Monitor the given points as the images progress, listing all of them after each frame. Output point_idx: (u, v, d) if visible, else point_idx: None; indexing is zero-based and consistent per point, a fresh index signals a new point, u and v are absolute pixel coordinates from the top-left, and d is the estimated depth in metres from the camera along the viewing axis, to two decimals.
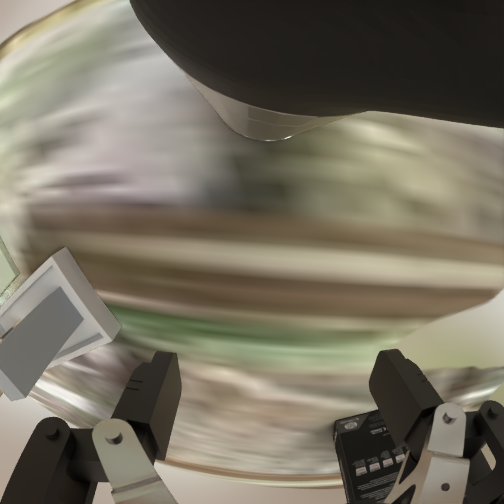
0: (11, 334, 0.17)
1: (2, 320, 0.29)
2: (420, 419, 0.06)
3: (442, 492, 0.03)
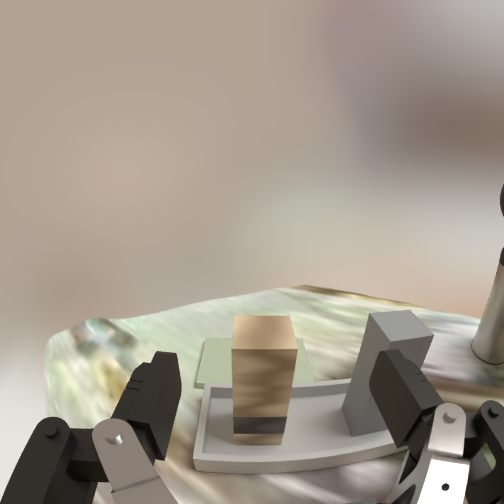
0: None
1: (224, 401, 0.30)
2: (420, 419, 0.06)
3: (442, 492, 0.03)
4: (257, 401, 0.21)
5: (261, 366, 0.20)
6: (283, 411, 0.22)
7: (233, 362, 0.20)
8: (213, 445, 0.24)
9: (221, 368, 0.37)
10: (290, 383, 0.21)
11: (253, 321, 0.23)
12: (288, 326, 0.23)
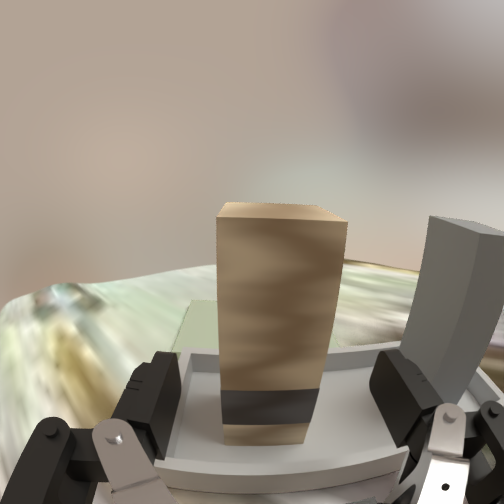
0: None
1: (210, 377, 0.21)
2: (420, 419, 0.06)
3: (442, 492, 0.03)
4: (266, 354, 0.12)
5: (277, 265, 0.11)
6: (314, 377, 0.12)
7: (220, 253, 0.10)
8: (189, 444, 0.14)
9: (209, 334, 0.27)
10: (331, 310, 0.11)
11: (258, 205, 0.14)
12: (319, 210, 0.13)
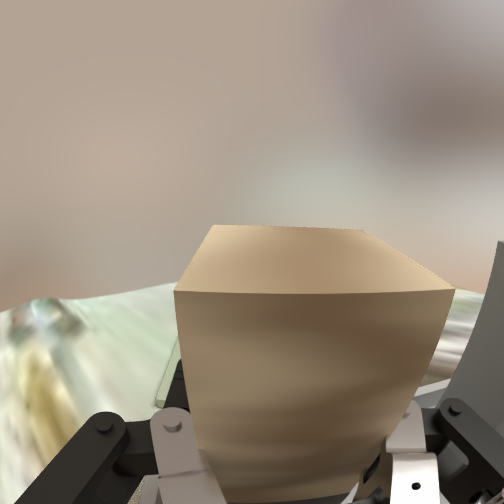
0: None
1: None
2: None
3: (414, 492, 0.03)
4: (280, 478, 0.06)
5: (314, 382, 0.05)
6: (345, 486, 0.06)
7: (190, 362, 0.04)
8: None
9: None
10: (393, 424, 0.05)
11: (269, 233, 0.08)
12: (376, 244, 0.07)
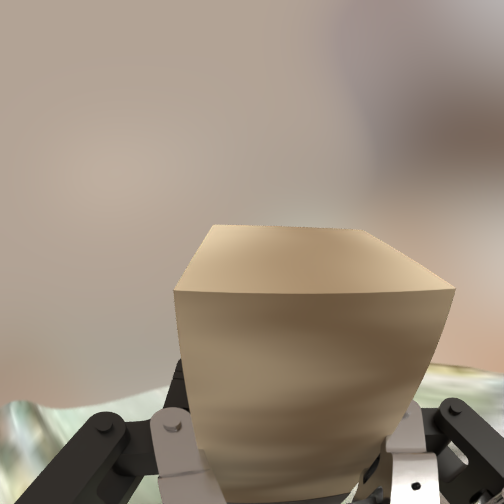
0: None
1: None
2: None
3: (414, 492, 0.03)
4: (280, 478, 0.06)
5: (314, 381, 0.05)
6: (345, 486, 0.06)
7: (189, 363, 0.04)
8: None
9: None
10: (393, 424, 0.05)
11: (269, 233, 0.08)
12: (376, 244, 0.07)
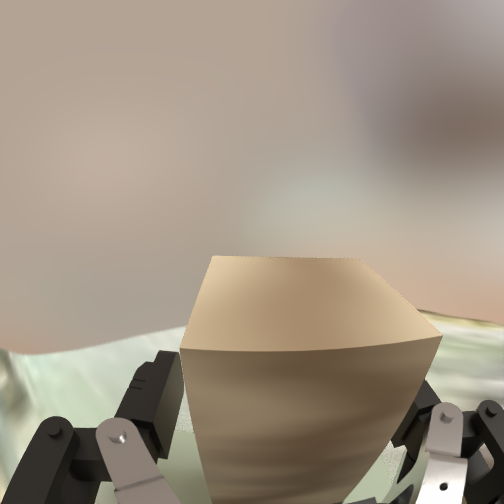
0: None
1: None
2: (417, 419, 0.06)
3: (441, 492, 0.03)
4: (277, 491, 0.06)
5: (307, 417, 0.05)
6: (338, 496, 0.06)
7: (195, 403, 0.05)
8: None
9: None
10: (381, 446, 0.05)
11: (268, 267, 0.08)
12: (371, 278, 0.07)
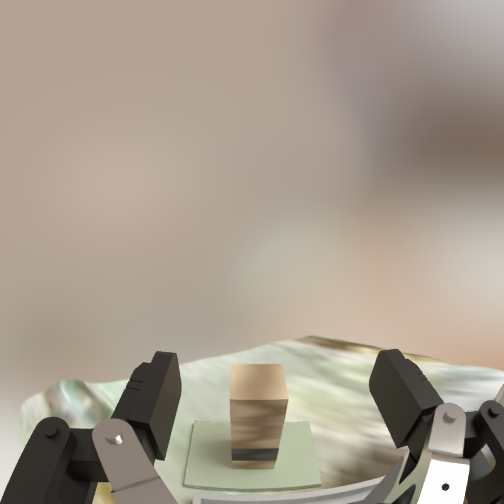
0: None
1: None
2: (420, 419, 0.06)
3: (442, 492, 0.03)
4: (252, 437, 0.23)
5: (256, 412, 0.22)
6: (275, 444, 0.23)
7: (231, 409, 0.21)
8: None
9: (213, 465, 0.25)
10: (281, 424, 0.22)
11: (249, 370, 0.25)
12: (280, 375, 0.24)
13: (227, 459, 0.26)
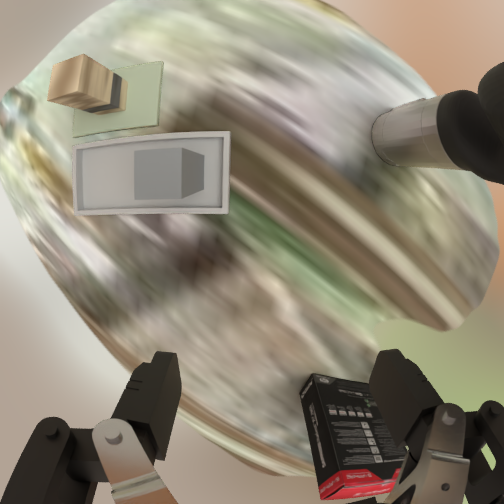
0: (189, 151, 0.28)
1: (89, 152, 0.37)
2: (420, 419, 0.06)
3: (442, 492, 0.03)
4: (84, 104, 0.27)
5: (68, 98, 0.23)
6: (104, 103, 0.29)
7: (54, 102, 0.23)
8: (86, 194, 0.39)
9: (88, 115, 0.35)
10: (92, 97, 0.25)
11: (61, 68, 0.20)
12: (79, 67, 0.21)
13: None
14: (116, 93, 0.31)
